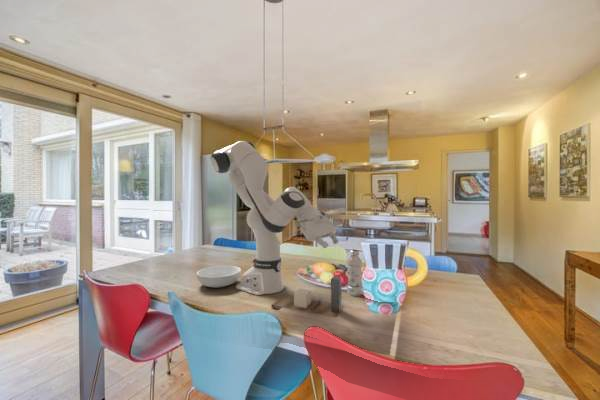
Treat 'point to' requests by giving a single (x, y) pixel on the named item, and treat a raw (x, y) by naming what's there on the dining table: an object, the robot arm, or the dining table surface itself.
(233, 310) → the dining table surface
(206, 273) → the serving bowl
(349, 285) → the plastic bottle
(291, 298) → the walnut strip
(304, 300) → the cream cube
